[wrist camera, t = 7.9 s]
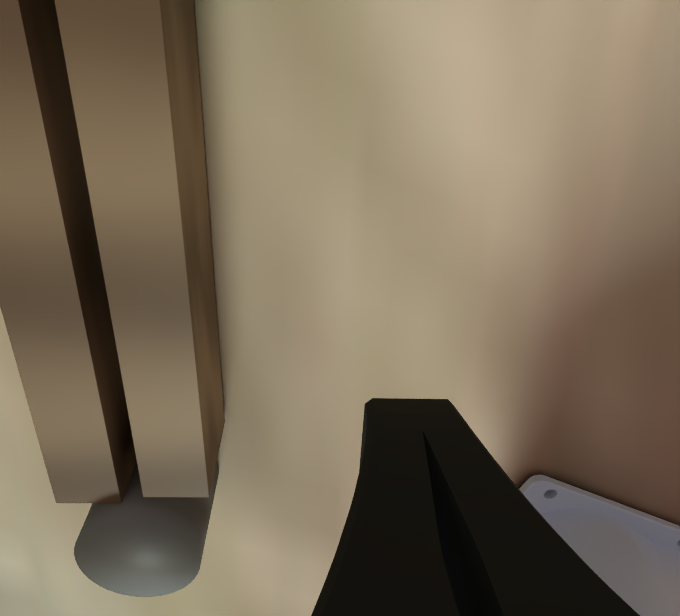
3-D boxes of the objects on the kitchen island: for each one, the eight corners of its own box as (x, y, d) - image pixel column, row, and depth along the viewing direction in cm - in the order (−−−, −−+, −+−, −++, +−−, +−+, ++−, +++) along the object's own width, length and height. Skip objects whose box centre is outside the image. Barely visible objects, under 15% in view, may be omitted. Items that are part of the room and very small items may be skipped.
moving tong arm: (257, 422, 21) (247, 497, 18) (168, 421, 21) (143, 497, 18) (233, -240, 12) (204, -313, 9) (77, -250, 12) (-5, -328, 9)
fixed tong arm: (221, 504, 23) (204, 596, 20) (79, 504, 23) (37, 597, 20) (159, -242, 12) (96, -330, 9) (-116, -261, 12) (-294, -359, 8)
